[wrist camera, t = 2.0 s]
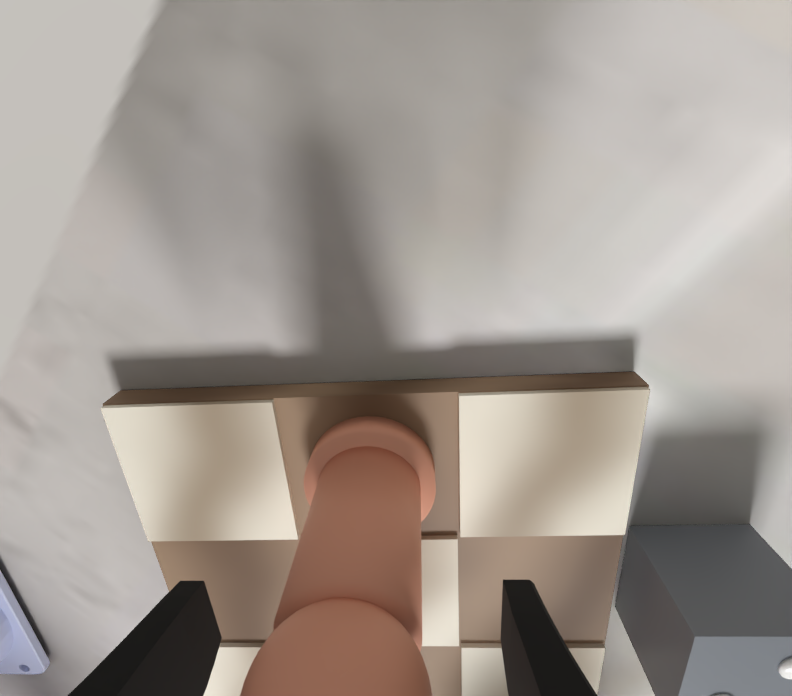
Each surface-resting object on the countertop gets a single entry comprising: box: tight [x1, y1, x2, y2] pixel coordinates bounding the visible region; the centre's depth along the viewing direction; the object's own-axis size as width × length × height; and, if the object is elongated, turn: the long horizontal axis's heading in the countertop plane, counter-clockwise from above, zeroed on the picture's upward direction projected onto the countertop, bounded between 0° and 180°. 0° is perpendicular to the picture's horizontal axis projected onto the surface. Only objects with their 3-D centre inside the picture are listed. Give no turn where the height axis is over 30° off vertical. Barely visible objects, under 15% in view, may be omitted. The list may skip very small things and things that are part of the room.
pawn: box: [240, 416, 436, 696], centre depth 11 cm, size 4×4×9 cm
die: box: [615, 524, 792, 696], centre depth 16 cm, size 4×4×5 cm
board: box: [101, 372, 650, 696], centre depth 18 cm, size 18×18×1 cm
